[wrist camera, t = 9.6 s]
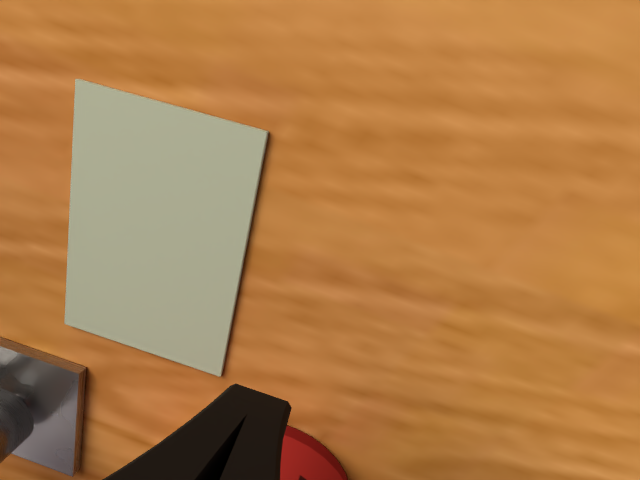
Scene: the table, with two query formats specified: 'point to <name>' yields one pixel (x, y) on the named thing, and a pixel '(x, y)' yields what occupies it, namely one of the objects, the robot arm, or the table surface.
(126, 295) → the plate
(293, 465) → the canned food
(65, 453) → the pivot plate
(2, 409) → the grey copper-tipped rod
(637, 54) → the table surface
